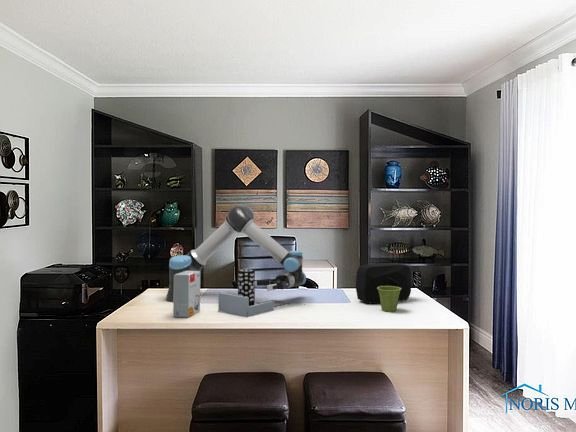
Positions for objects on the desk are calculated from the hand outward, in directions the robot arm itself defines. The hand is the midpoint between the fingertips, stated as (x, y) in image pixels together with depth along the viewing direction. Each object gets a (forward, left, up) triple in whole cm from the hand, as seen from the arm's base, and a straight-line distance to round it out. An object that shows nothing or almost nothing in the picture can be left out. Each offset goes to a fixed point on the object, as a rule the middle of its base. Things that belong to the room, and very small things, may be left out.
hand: (257, 286), depth 256 cm
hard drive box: (-17, -31, -11) cm, 37 cm away
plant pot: (+53, +39, -11) cm, 67 cm away
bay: (0, -8, -11) cm, 13 cm away
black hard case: (+41, +57, -11) cm, 71 cm away
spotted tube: (0, -8, -11) cm, 14 cm away
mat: (0, +13, -11) cm, 17 cm away
